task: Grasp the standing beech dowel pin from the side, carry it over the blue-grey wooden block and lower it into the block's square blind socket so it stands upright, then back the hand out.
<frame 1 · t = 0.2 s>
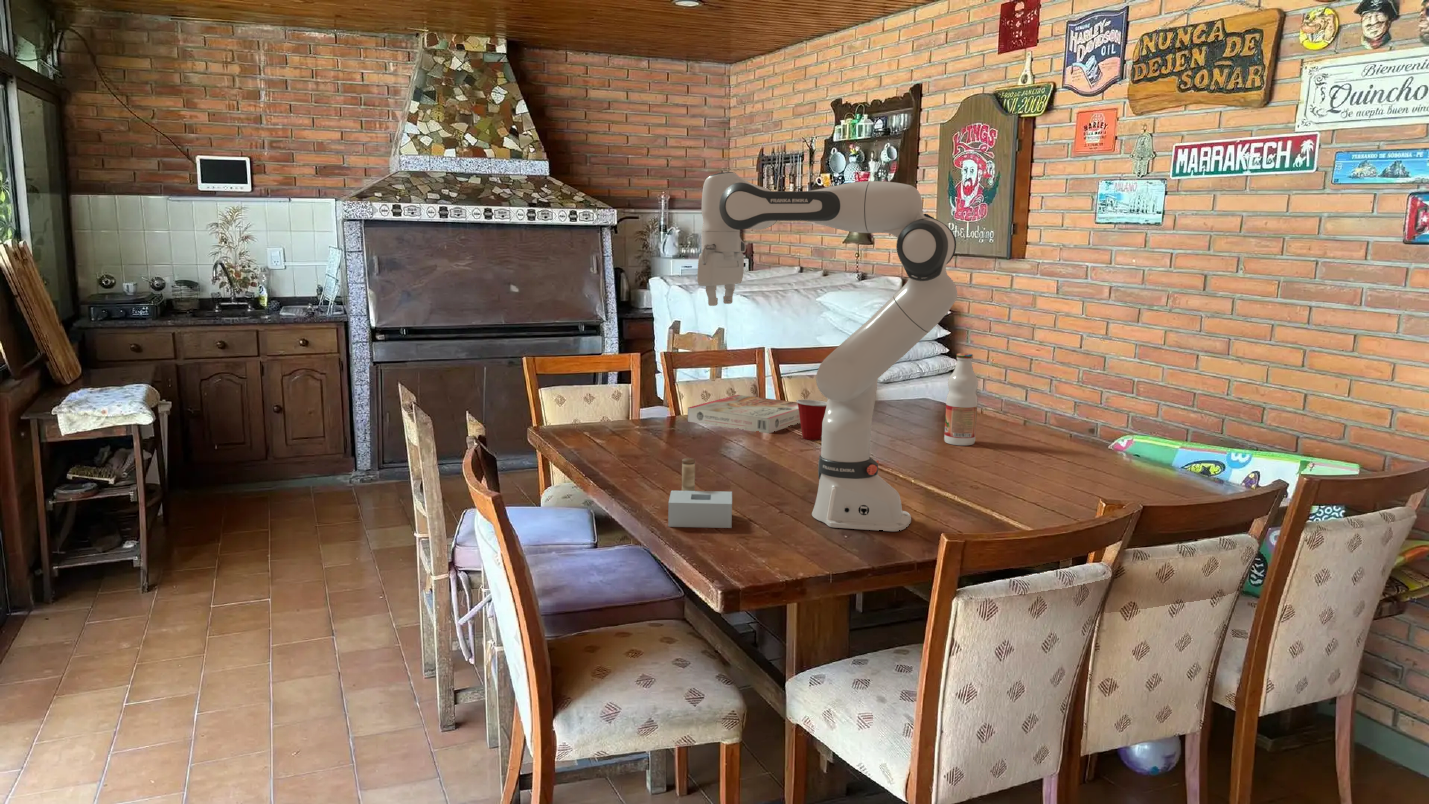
hand: (720, 304, 225), 48 cm above the table, tool pointing down, fingers open, 8 cm apart
dowel pin: (688, 509, 227), on the table
fruit juice: (959, 443, 302), on the table
pizza box: (751, 421, 334), on the table
plastic cup: (812, 438, 306), on the table
socket block: (700, 520, 218), on the table
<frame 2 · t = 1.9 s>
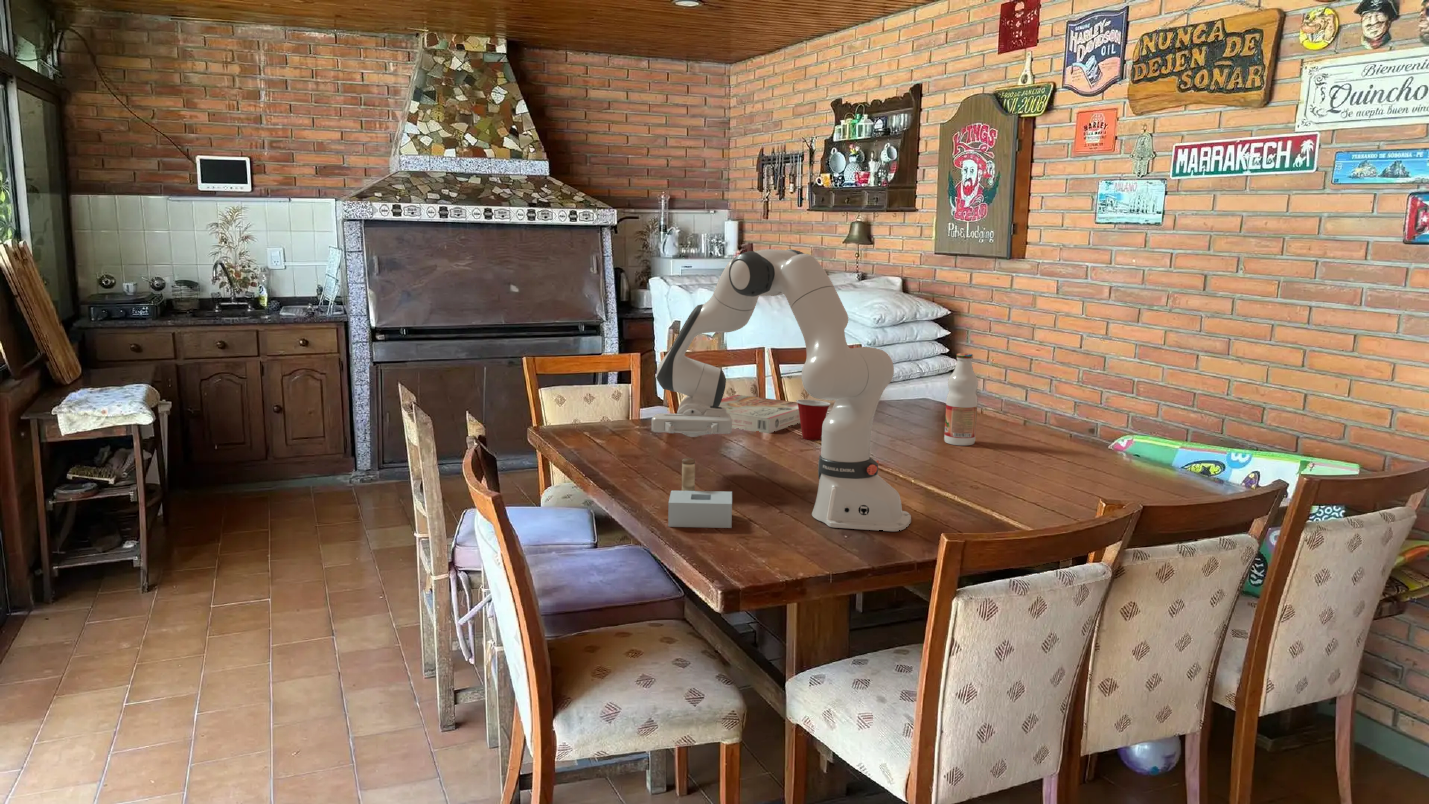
hand: (690, 430, 236), 16 cm above the table, tool horizontal, fingers open, 8 cm apart
nothing on the table moved.
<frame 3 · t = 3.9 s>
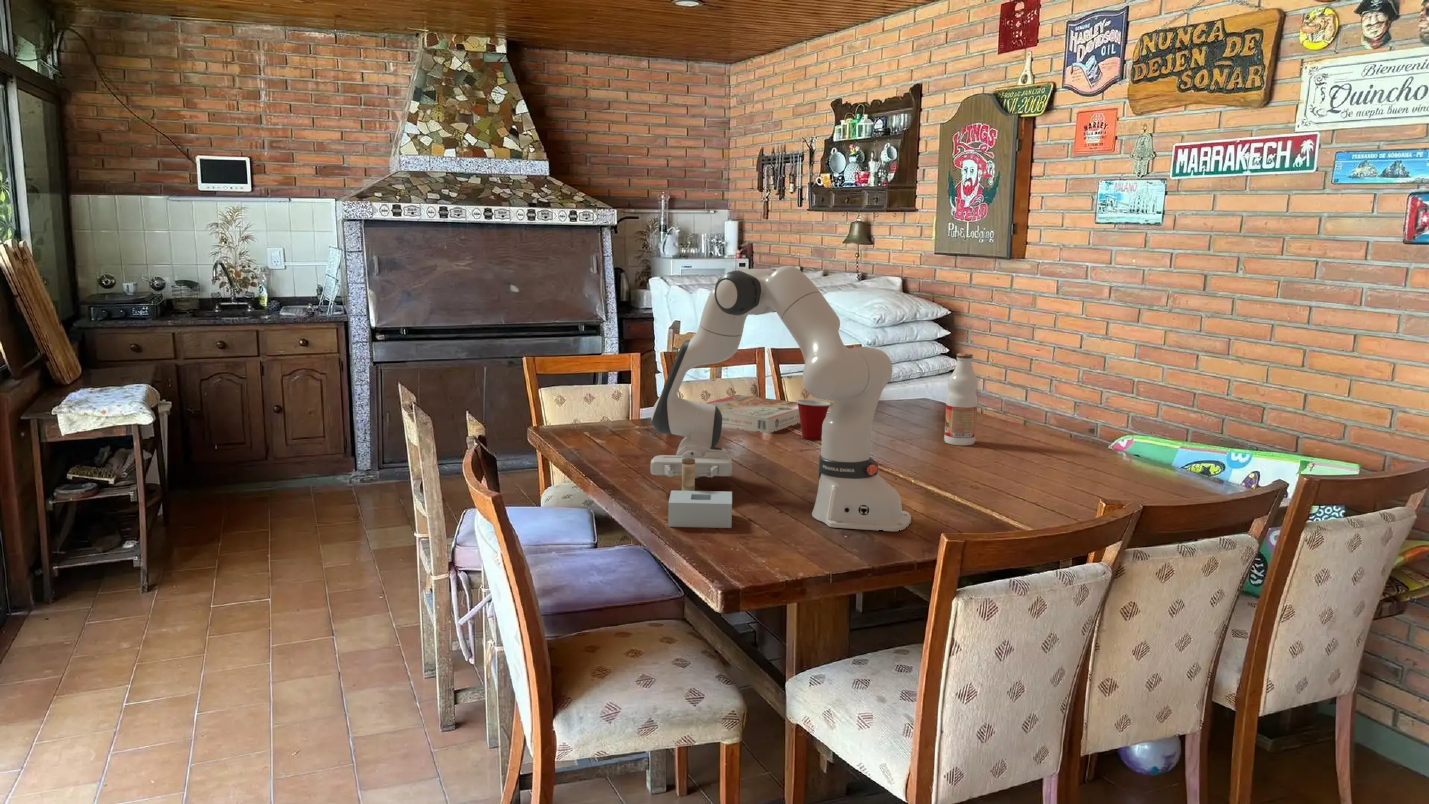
hand: (690, 473, 232), 7 cm above the table, tool horizontal, fingers open, 8 cm apart
nothing on the table moved.
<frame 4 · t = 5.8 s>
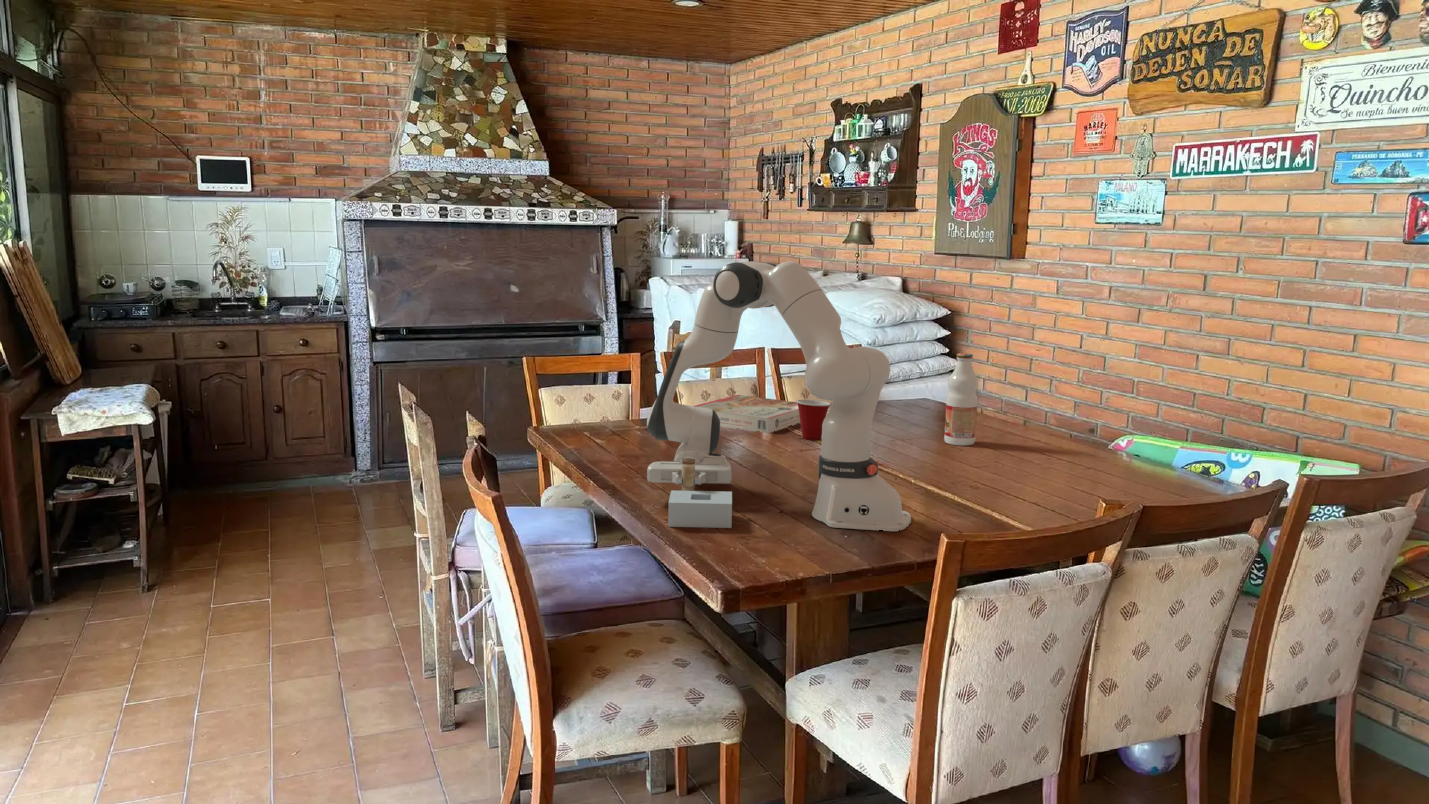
hand: (688, 481, 225), 7 cm above the table, tool horizontal, fingers closed on dowel pin, 3 cm apart
dowel pin: (688, 509, 227), on the table, touching gripper
everything else where it was.
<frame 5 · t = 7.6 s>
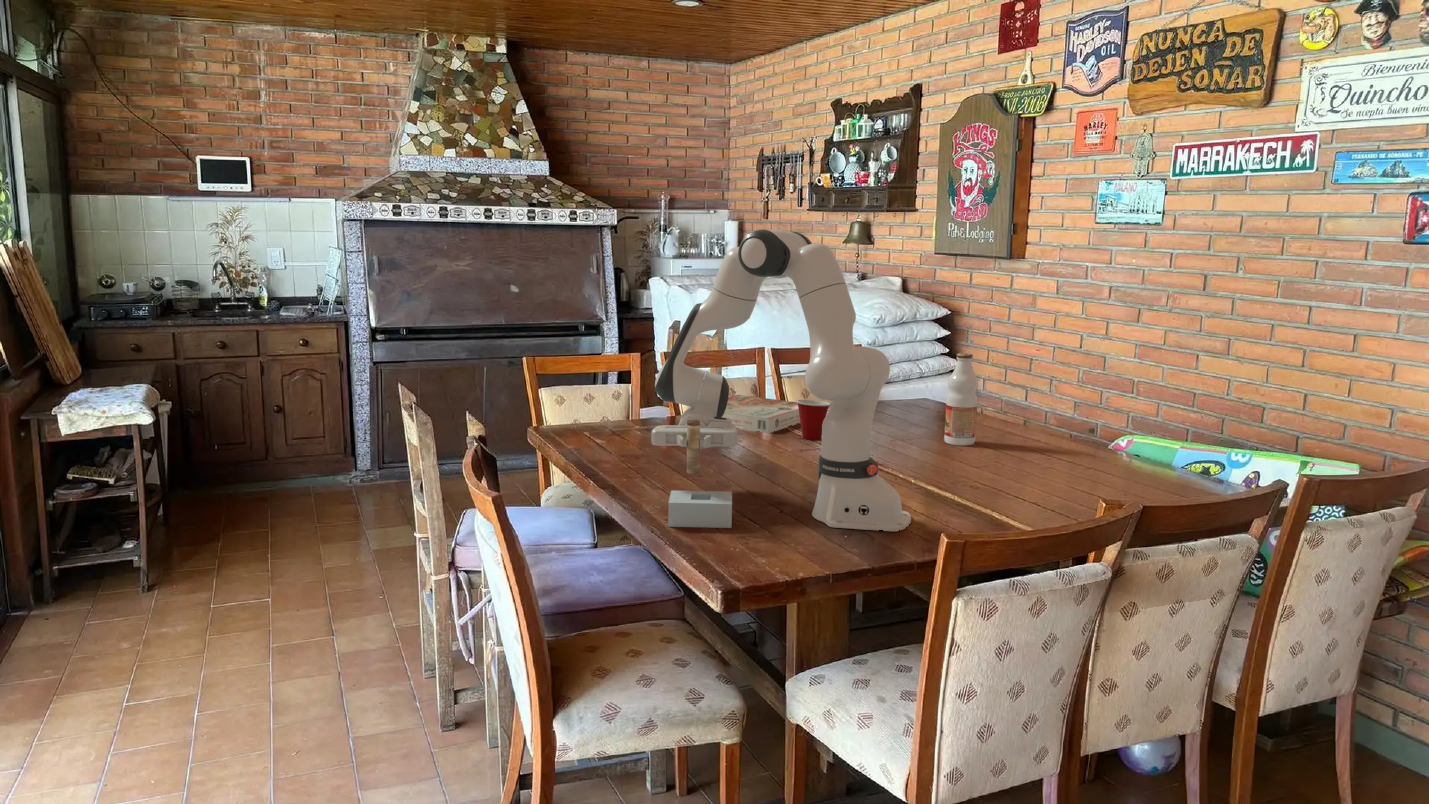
hand: (693, 443, 220), 17 cm above the table, tool horizontal, fingers closed on dowel pin, 3 cm apart
dowel pin: (693, 472, 222), point 10 cm above the table, touching gripper
everything else where it was.
when the fingers open (10 cm above the table, at t = 9.5 s): dowel pin stays where it is, resting on socket block.
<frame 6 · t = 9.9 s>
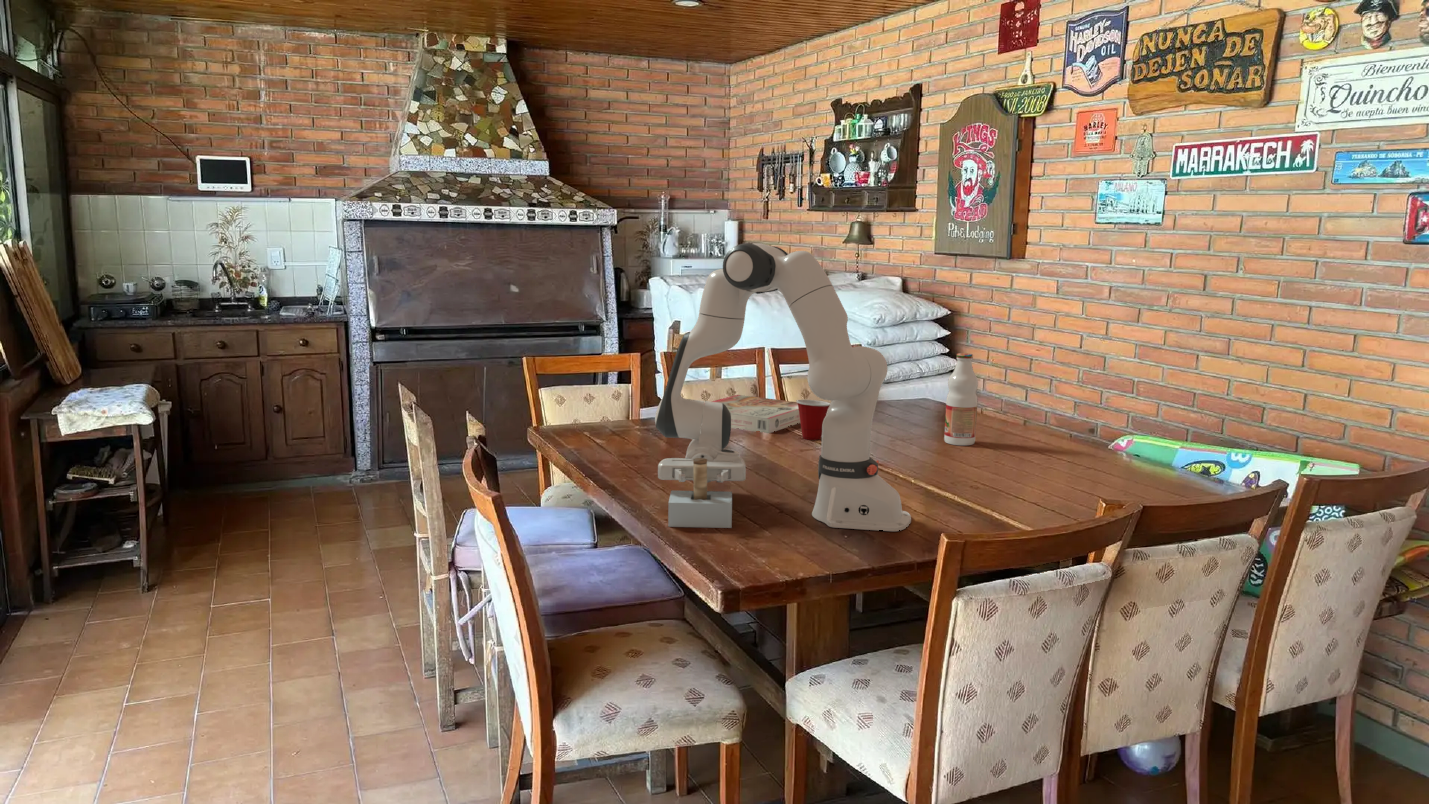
hand: (700, 478, 216), 10 cm above the table, tool horizontal, fingers open, 7 cm apart
dowel pin: (700, 511, 218), point 2 cm above the table, touching socket block
everything else where it was.
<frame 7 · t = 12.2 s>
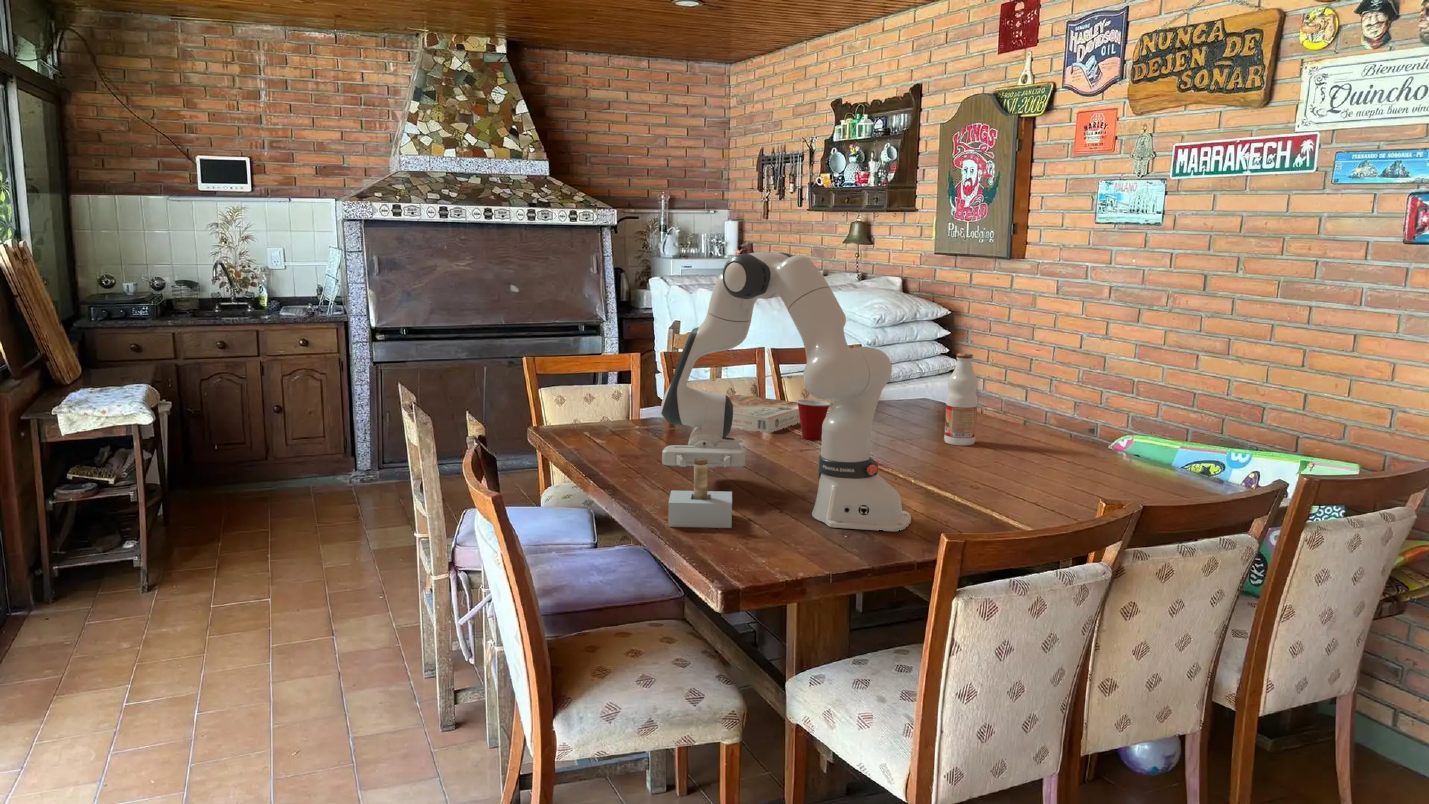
hand: (702, 463, 228), 10 cm above the table, tool horizontal, fingers open, 8 cm apart
nothing on the table moved.
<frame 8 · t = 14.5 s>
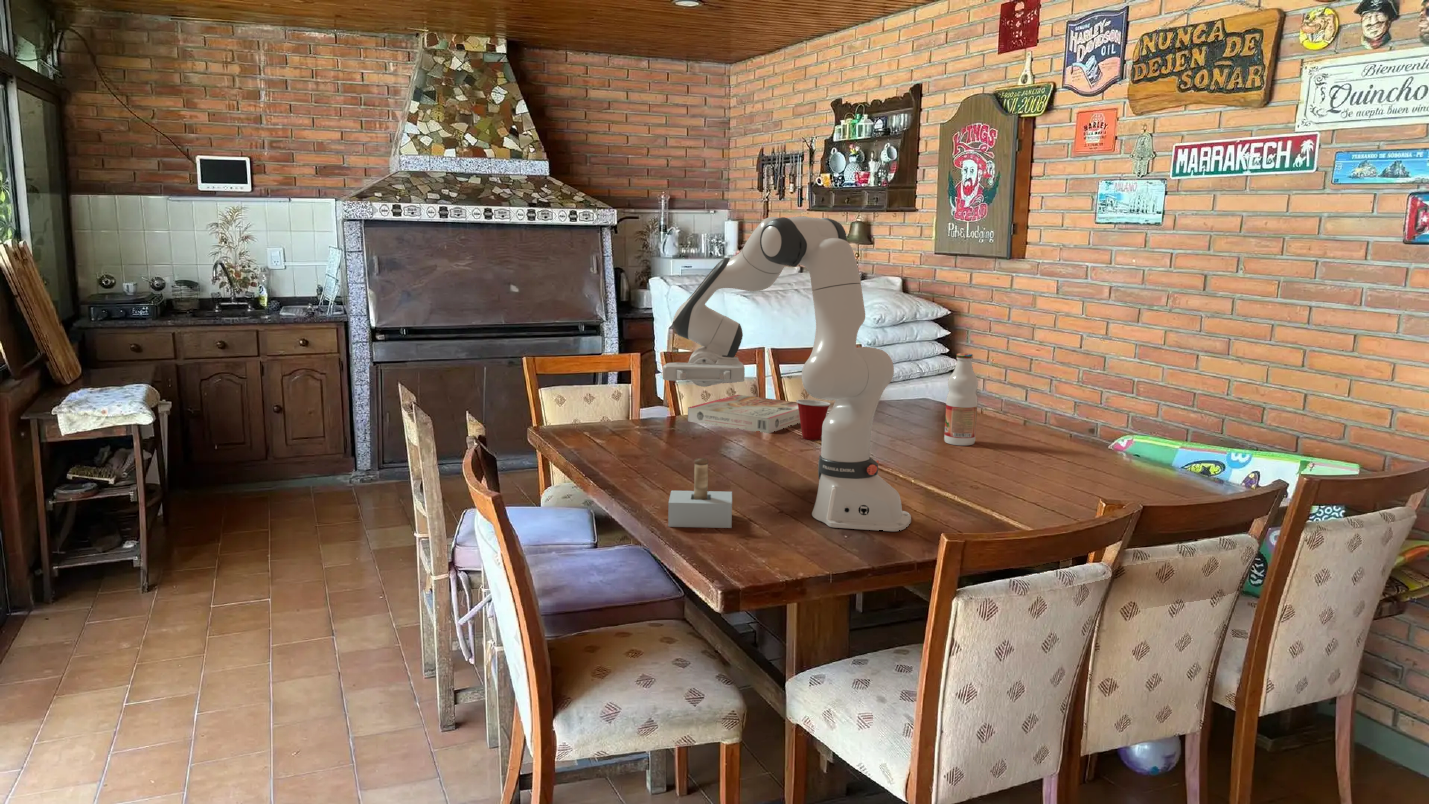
hand: (702, 377, 231), 30 cm above the table, tool horizontal, fingers open, 8 cm apart
nothing on the table moved.
at the end: dowel pin 0.0 cm off-centre on the socket block, point 2.1 cm above the socket block's base; dowel pin tilted 0°; the gripper is holding nothing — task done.
